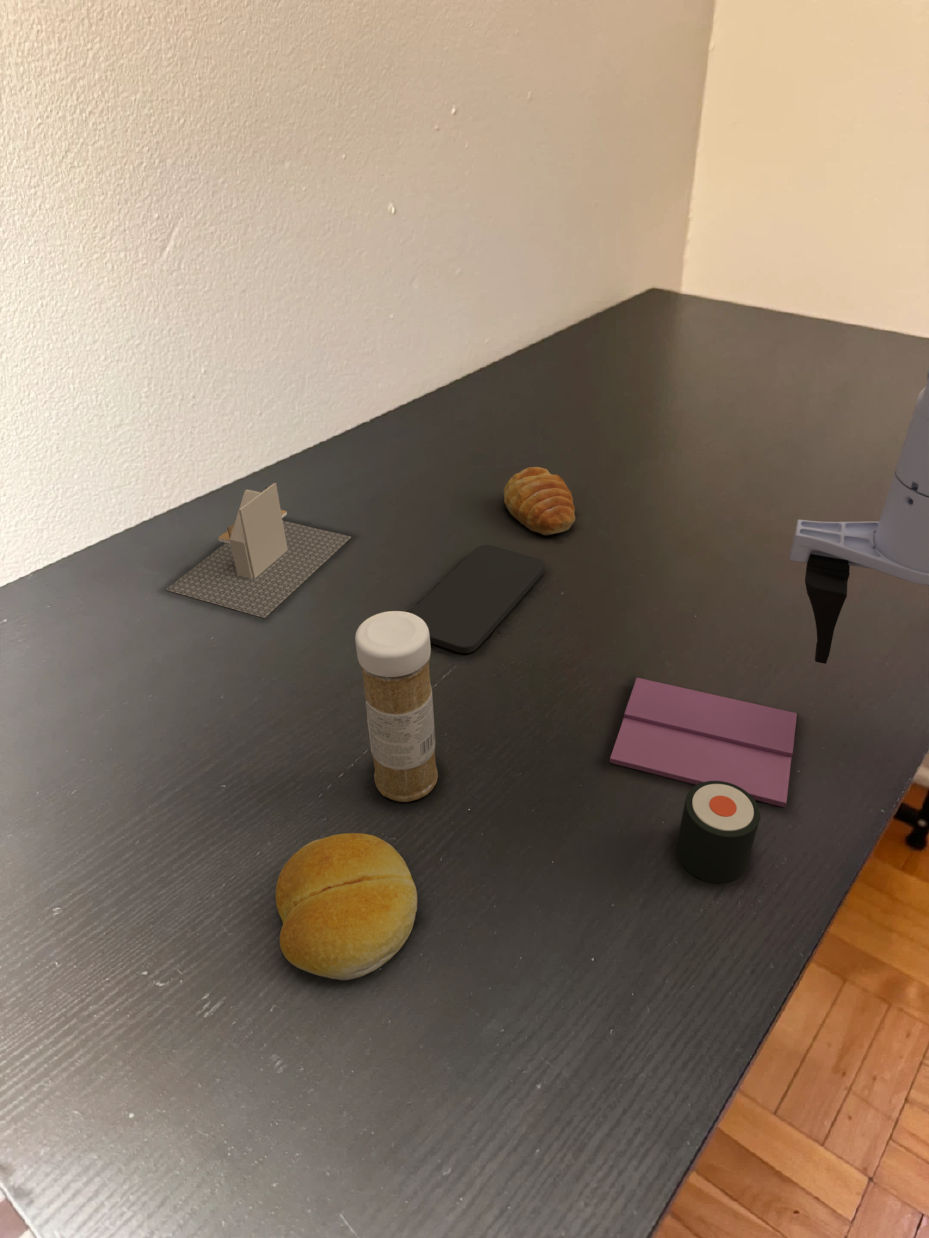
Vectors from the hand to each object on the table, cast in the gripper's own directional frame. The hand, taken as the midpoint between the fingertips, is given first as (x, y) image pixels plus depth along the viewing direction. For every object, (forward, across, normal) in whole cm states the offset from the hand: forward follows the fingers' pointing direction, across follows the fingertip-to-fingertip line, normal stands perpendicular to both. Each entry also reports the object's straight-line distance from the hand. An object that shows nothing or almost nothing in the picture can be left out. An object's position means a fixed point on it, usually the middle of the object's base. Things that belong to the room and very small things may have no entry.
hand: (883, 666), depth 55 cm
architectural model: (+9, +54, -8) cm, 55 cm away
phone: (+8, +32, -9) cm, 34 cm away
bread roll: (+9, +28, +24) cm, 38 cm away
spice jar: (+9, +29, +13) cm, 33 cm away
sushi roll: (+8, +8, +12) cm, 17 cm away
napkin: (+8, +10, +2) cm, 13 cm away
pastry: (+9, +31, -26) cm, 41 cm away
